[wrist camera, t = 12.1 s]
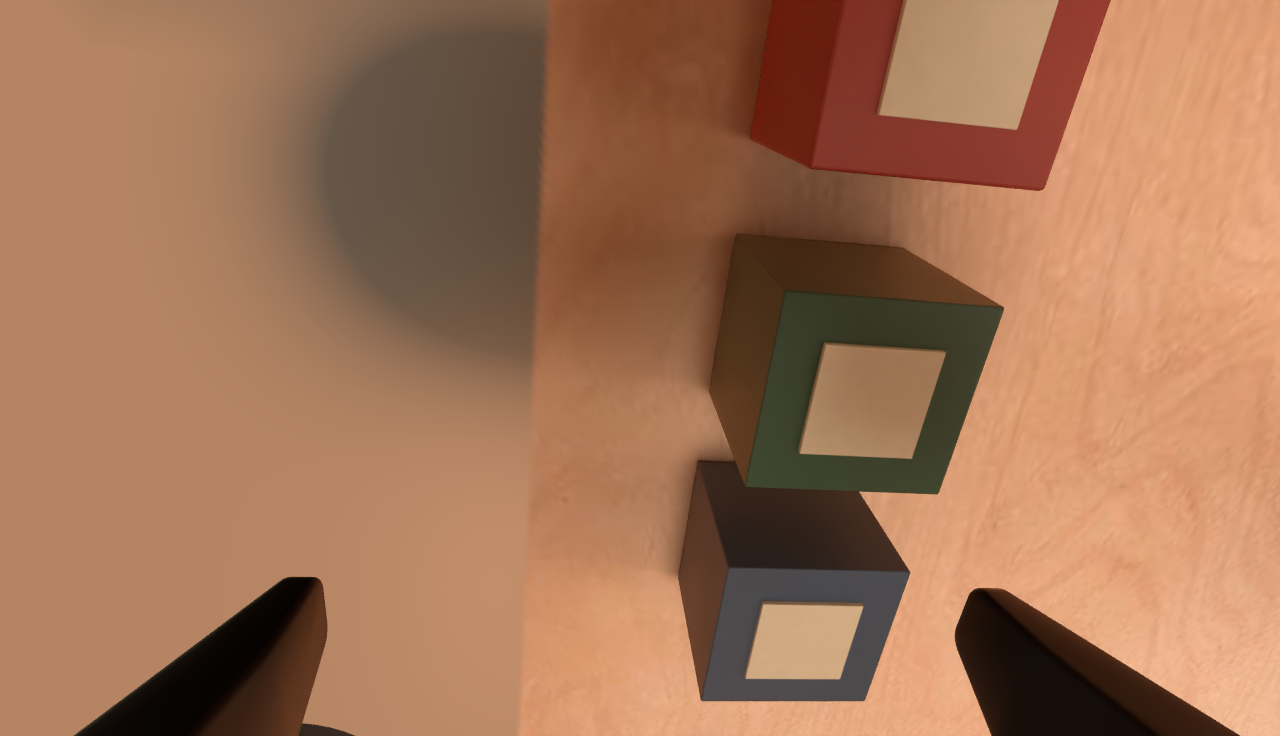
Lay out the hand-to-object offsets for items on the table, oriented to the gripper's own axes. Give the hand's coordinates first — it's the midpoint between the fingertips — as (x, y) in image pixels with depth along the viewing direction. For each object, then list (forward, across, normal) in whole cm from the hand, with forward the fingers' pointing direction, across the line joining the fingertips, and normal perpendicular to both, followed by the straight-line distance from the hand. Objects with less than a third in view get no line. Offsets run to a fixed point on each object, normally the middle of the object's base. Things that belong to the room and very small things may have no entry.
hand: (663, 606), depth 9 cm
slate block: (+11, -6, +7) cm, 14 cm away
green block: (+11, -6, 0) cm, 12 cm away
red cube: (+11, -6, -8) cm, 15 cm away
